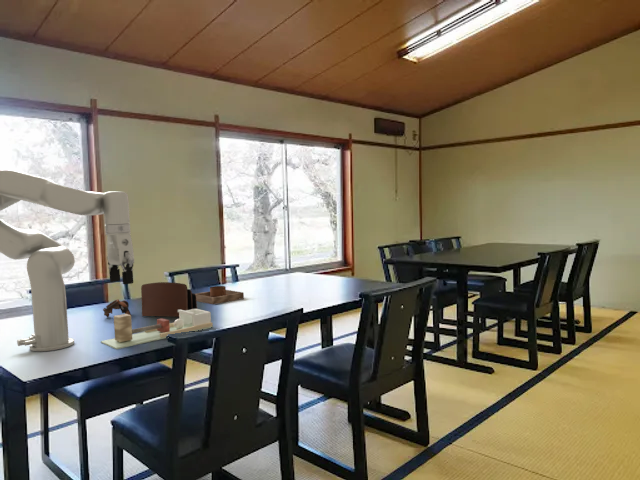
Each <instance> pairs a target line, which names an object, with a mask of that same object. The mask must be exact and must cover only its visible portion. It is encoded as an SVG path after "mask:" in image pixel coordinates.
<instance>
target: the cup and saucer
mask: <svg viewBox="0 0 640 480" xmlns="http://www.w3.org/2000/svg"><path fill="white" fill-rule="evenodd" d="M226 288H227V287H226V286H225V285H215V286H210V287H209V291H210V295H208V296H209V297H219V296H224V295H230V294H226V290H227V289H226Z"/></svg>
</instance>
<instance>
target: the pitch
mask: <svg viewBox="0 0 640 480" xmlns="http://www.w3.org/2000/svg"><path fill="white" fill-rule="evenodd" d="M178 312H179V317H178V319H182V320H183V321H184V326H183V328H181V329H176V328H175V327H174V322H169V326H170V331H169V332H165V333H163V332H160V331H157V329H153V330H148V331H143V332H139V333H134V334H132V340H128V341H124V342H119V341H116V340H115V337H114V338H108V339H106V340H101V341H100V343H101V344H103V345H106V346H108V347H110V348H112V349H114V350H120V349H124V348H128V347H133V346H137V345H142V344H146V343H150V342H156V341H158V340H163V339H167V338H166V336H167V335H168V334H175V333H181V332H189V331H195V332H199V331H203V330H207V329H212V328H213V327H214V326H213V322H212V314H211V311H207V310H203V309H199V308H197V309H191V310H186V311H184V310H178ZM211 327H212V328H211ZM202 329H203V330H202ZM198 330H199V331H198Z"/></svg>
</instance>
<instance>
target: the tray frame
mask: <svg viewBox="0 0 640 480" xmlns="http://www.w3.org/2000/svg"><path fill="white" fill-rule="evenodd" d="M194 294H195V295H196V301H197V302H199V303H204V304H210V305H218V304H223V303H228V302H234V301H240V300H244V299H245V297H244V292H242V291H235V290H230V289H226V294H230V295H224V296H219V297H209V296H208V295H210V290H209V291H205V292H204V291H203V292H198V293H194Z"/></svg>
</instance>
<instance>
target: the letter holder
mask: <svg viewBox="0 0 640 480" xmlns="http://www.w3.org/2000/svg"><path fill="white" fill-rule="evenodd" d="M140 289H141V292H140V293H141V317H143V316H155V318H157V317H156V316H158V318H159V316H160V317H161V318H162V317H165V318H166V317H175V318H177V317H178V318H179V312H178V310H184V311H186V310H191V309H198V305H197V304H198V303H197V302H198V301H196V295H195V294H196V293H193V292H192V290H191V289H189V288H188V286H187V284H185V283H180V282H171V281H170V282H169V281H164V282H163V281H159V282H150V283H145V284H142V285H141V287H140Z"/></svg>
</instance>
